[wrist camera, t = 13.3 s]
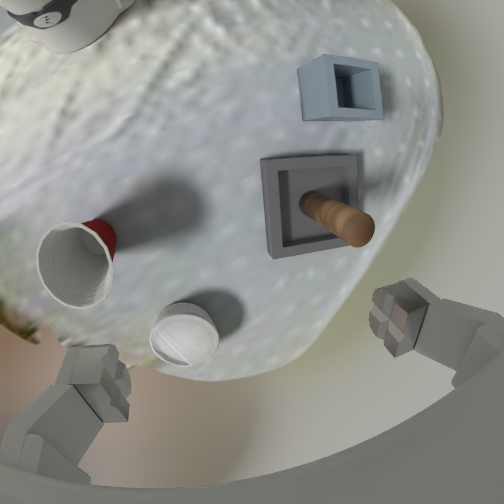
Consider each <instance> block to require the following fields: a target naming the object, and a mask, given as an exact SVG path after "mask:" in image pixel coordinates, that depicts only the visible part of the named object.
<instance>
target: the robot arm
mask: <svg viewBox="0 0 504 504" xmlns="http://www.w3.org/2000/svg"><path fill="white" fill-rule="evenodd" d="M134 2H135V0H0V6H1V7H3V8H5V9H6V10H7V12H8V14H9V15H10V16H11V17H12V18H13V19H14V20H15V21H17V22H18V24H20V25H21V26H22V27H23V28H24V29H25V30H26V31H27V32H28V33H29V39H30V40H31V41H33V42H39V43H41V44H42V45H43V46H44V47H45V48H46V49H47V50H48V51H50V52H52V53H57V54H65V53H70V52H73V51H76V50H79V49H81V48H83V47H85V46H87V45H89V44H90V43H92V42H93V41H95V40H96V39H97V38H99V37H100V36H101V35H102V34H103V33H104V32H105V31H106V30H107V29H108V28H109V27H110V26H111V25H112V23H113V22H114V21H115V19H116V18H117V17H118V15H119V14H120V13H121V12H123V11H124V10H126V9H127V8H128V7H130V6H131V5H132V4H133V3H134ZM372 301H373V303H374V304H375V305H374V306H373V308H372V309H371V311H370V314H369V322H370V327H371V329H372V331H373V333H374V334H375V335H376V337H378V338H381V339H383V340H384V346H385V347H386V348H387V349H388V351H390V353H391V354H392V355H393V356H394V357H398V356H400V355H402V354H404V353H407V352H409V351H411V350H413V349H414V351H416V352H418V353H420V354H422V355H424V356H426V357H428V358H431V359H433V360H435V361H437V362H439V363H441V364H443V365H445V366H447V367H449V368H451V369H454V370H456V371H457V372H456V374H455V376H454V377H453V379H452V385H453V386H454V387H455V389H454V390H453V391H451V392H450V393H449V394H447V395H446V396H444V397H443V398H441V399H440V400H438V401H437V402H435V403H434V404H432V405H431V406H429V407H428V408H426V409H424V410H423V411H421V412H419V413H418V414H416V415H414V416H413V417H411V418H409V419H407V420H406V421H404V422H402V423H400V424H398V425H397V426H395V427H393V428H391V429H389V430H387V431H385V432H383V433H381V434H379V435H377V436H375V437H373V438H371V439H368V440H366V441H364V442H362V443H360V444H357V445H355V446H353V447H350V448H348V449H345V450H343V451H340V452H338V453H335V454H333V455H330V456H328V457H324V458H322V459H319V460H316V461H313V462H310V463H307V464H303V465H300V466H297V467H294V468H290V469H286V470H283V471H279V472H275V473H272V474H267V475H263V476H258V477H253V478H249V479H243V480H238V481H232V482H226V483H219V484H211V485H203V486H192V487H177V488H123V487H110V486H99V485H91V484H90V481H91V478H90V476H89V475H88V474H87V473H86V472H84V471H83V470H81V469H80V468H79V467H78V466H77V465H78V463H79V461H80V460H81V458H82V457H83V455H84V454H85V452H86V450H87V449H88V448H89V446H90V444H91V443H92V441H93V440H94V438H95V437H96V435H97V434H98V432H99V431H100V429H101V428H102V426H103V425H104V424H103V423H114V422H128V417H129V403H128V401H127V400H126V398H127V397H128V395H129V394H130V393H131V380H130V375H129V372H128V369H127V367H126V365H125V364H124V363H122V362H121V361H119V360H118V358H119V352H118V350H117V349H116V347H115V345H113V344H104V345H91V346H79V347H71V348H69V349H68V350H67V353H66V355H65V358H64V360H63V363H62V366H61V368H60V371H59V374H58V377H57V380H56V382H55V385H50V386H49V387H48V388H47V389H46V390H45V391H44V392H43V393H42V394H41V395H40V396H39V397H38V398H36V399H35V400H34V401H33V402H32V403H31V404H30V405H29V406H28V407H27V408H26V409H25V410H24V411H23V412H22V413H21V414H20V415H19V416H18V417H17V418H16V419H15V420H14V421H13V422H12V423H11V424H10V425H9V426H8V427H7V428H6V431H5V434H4V438H3V441H2V445H1V448H0V504H504V318H503V317H502V316H501V315H500V314H498V313H495V312H492V311H488V310H484V309H481V308H477V307H473V306H470V305H466V304H462V303H459V302H455V301H451V300H448V299H442V300H441V299H440V298H439V297H437V296H436V295H435V294H433V293H432V292H431V291H430V290H428V289H427V288H426V287H424V286H423V285H421V284H420V283H419V282H418V281H416V280H415V279H413V278H407V279H405V280H402V281H399V282H397V283H394V284H391V285H388V286H385V287H382V288H378V289H376V290H375V291H374V293H373V296H372Z"/></svg>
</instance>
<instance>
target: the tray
mask: <svg viewBox="0 0 504 504" xmlns="http://www.w3.org/2000/svg"><path fill="white" fill-rule="evenodd" d="M260 166H261V177H262V188H263V200H264V212H265V224H266V236H267V249H268V253H269V255H270V256H271V257H272V259H278V258H284V257H289V256H295V255H300V254H305V253H311V252H316V251H322V250H327V249H332V248H338V247H343V246H348V245H350V244H348V243H347V242H345V241H344V240H342V239H341V238H339V237H338V236H336V235H335V234H333V233H332V232H331V231H329V230H327V229H326V228H324V227H323V226H321V225H320V224H318V223H317V222H315V221H314V220H312V219H311V218H309V217H308V216H306V215H304V214H303V213H302V212H301V210H300V208H299V201H300V198H301V196H302V195H303V194H304V193H306V192H308V191H316V192H318V193H320V194H323V195H325V196H328V197H330V198H332V199H335V200H337V201H339V202H342V203H344V204H346V205H348V206H351V207H353V208H355V209H357V208H358V178H357V155H350V154H334V155H312V156H295V157H282V158H270V159H260Z"/></svg>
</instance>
